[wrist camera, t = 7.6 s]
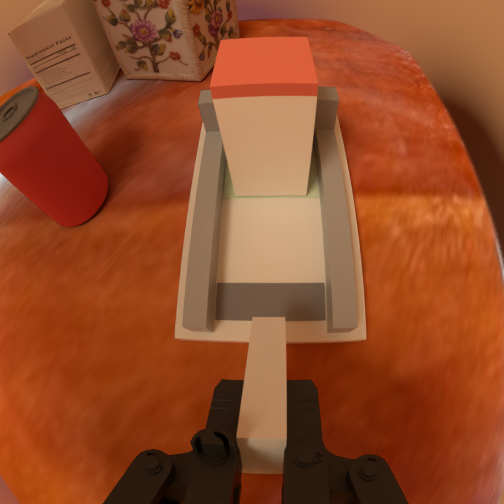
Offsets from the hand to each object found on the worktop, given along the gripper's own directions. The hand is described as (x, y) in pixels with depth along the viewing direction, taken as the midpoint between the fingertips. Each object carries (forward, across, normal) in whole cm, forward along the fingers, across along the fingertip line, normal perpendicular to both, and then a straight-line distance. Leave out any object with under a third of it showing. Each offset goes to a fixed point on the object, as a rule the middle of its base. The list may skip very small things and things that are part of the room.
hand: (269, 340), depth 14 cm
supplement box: (+26, -24, +19) cm, 41 cm away
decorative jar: (+28, -11, +20) cm, 36 cm away
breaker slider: (+12, 0, +6) cm, 13 cm away
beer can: (+12, -17, +5) cm, 22 cm away
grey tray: (+11, 0, +4) cm, 12 cm away
